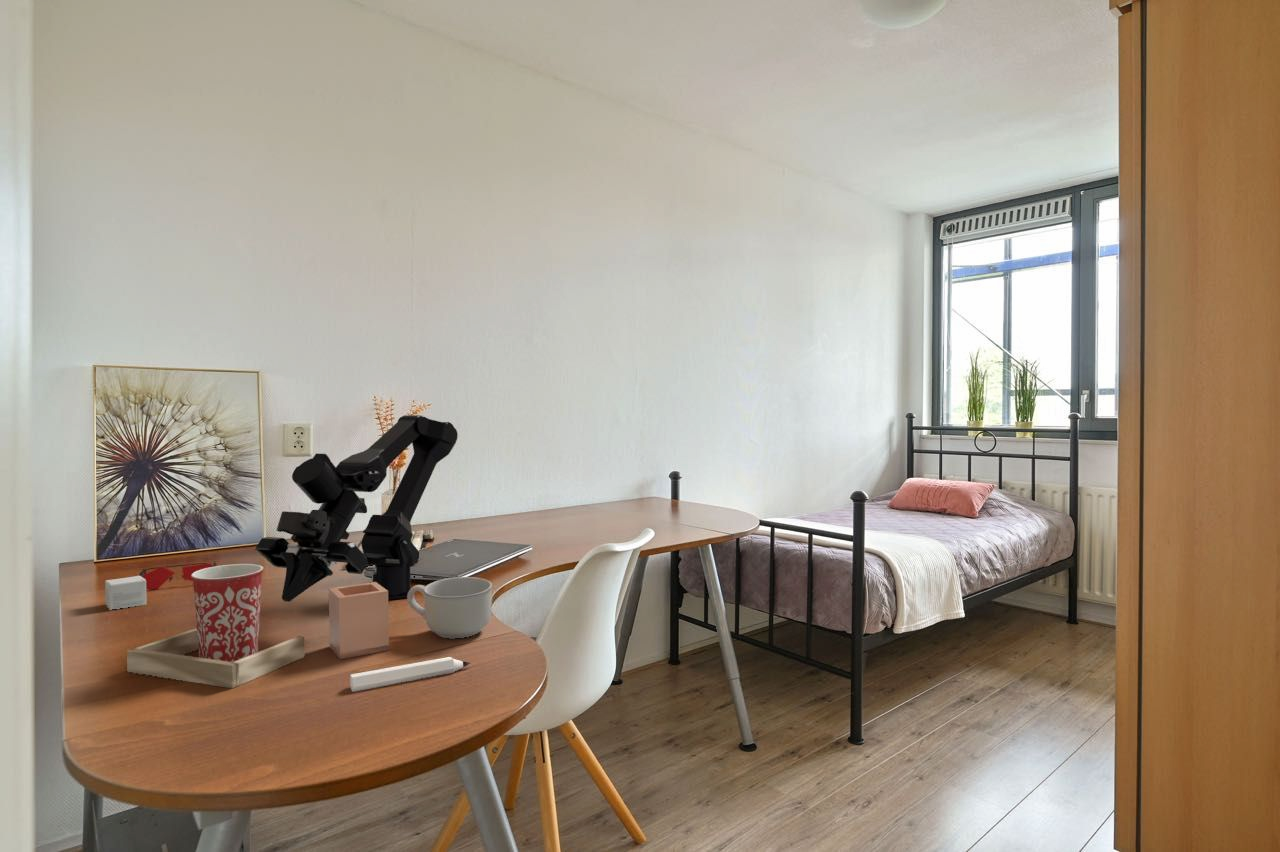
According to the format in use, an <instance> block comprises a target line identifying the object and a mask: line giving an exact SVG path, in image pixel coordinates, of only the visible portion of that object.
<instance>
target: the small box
mask: <svg viewBox="0 0 1280 852" xmlns="http://www.w3.org/2000/svg"><path fill="white" fill-rule="evenodd" d="M104 581H105V582H104V587H105V596H104V597H105V606H106V605H107V606H106V607H107V609H109V611H111V610H112V609H117V610H121V609H120V608H123V609H129V608H128V607H130V608H135V606H136V607H142V606H147V589H146V580H145V579H144V578H142V577H141V576H139V575H135V576H130V577H129V576H128V577H123V578H122V577H121V578H115V579H113V578H112V579H106V580H104ZM112 611H113V610H112Z"/></svg>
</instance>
